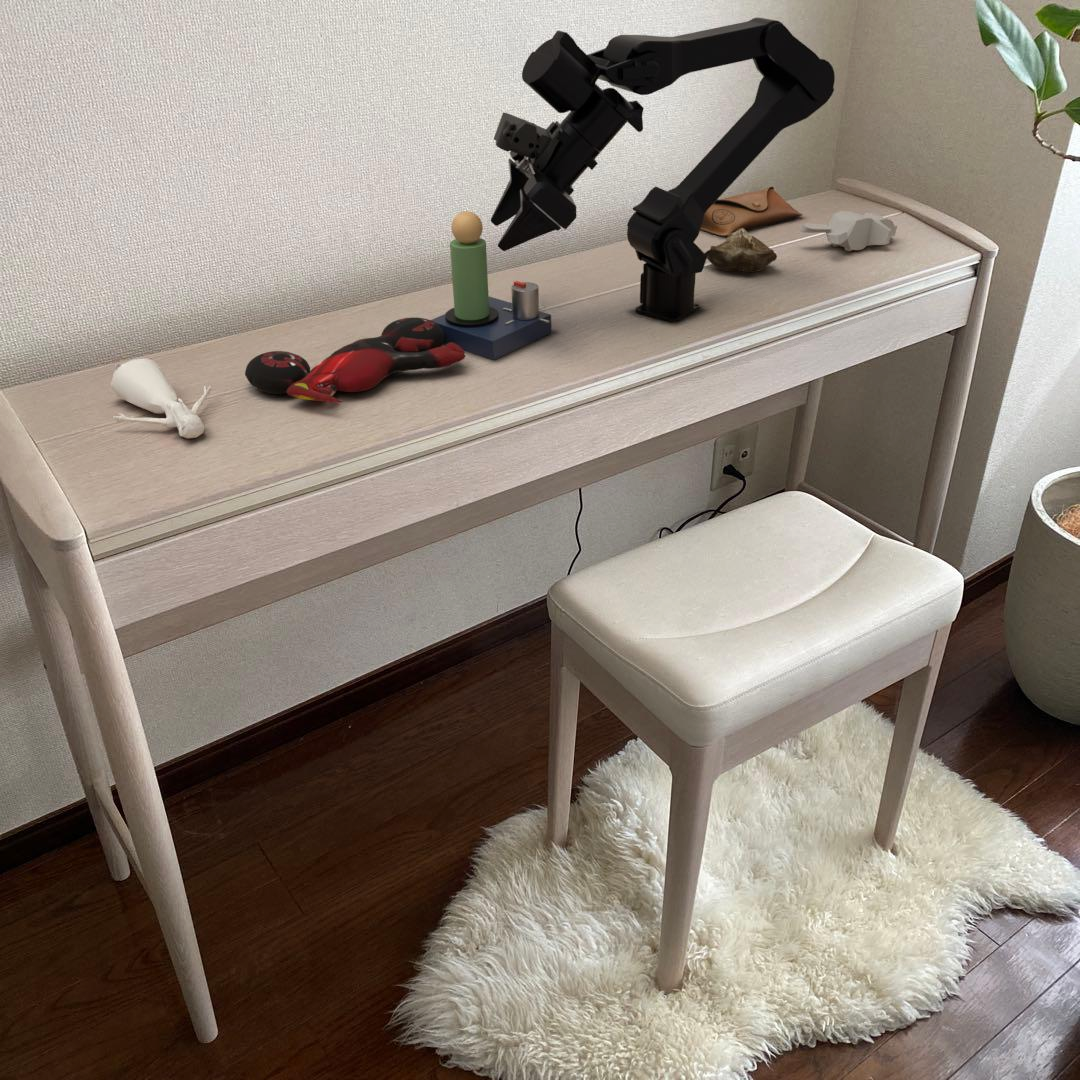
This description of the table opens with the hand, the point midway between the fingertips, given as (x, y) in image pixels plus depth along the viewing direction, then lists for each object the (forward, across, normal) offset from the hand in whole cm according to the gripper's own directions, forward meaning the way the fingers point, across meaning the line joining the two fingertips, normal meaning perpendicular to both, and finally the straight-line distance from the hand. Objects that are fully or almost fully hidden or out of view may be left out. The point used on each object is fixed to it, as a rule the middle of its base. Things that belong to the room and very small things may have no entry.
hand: (496, 235), depth 130 cm
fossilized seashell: (-16, -17, +36) cm, 43 cm away
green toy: (+9, +1, +4) cm, 10 cm away
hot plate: (+9, +2, +8) cm, 13 cm away
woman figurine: (+36, +18, -21) cm, 45 cm away
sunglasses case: (-20, -39, +42) cm, 61 cm away
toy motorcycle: (+21, +12, -4) cm, 25 cm away
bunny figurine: (-29, -24, +50) cm, 63 cm away
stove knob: (+5, +2, +9) cm, 11 cm away
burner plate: (+10, +1, +4) cm, 11 cm away
